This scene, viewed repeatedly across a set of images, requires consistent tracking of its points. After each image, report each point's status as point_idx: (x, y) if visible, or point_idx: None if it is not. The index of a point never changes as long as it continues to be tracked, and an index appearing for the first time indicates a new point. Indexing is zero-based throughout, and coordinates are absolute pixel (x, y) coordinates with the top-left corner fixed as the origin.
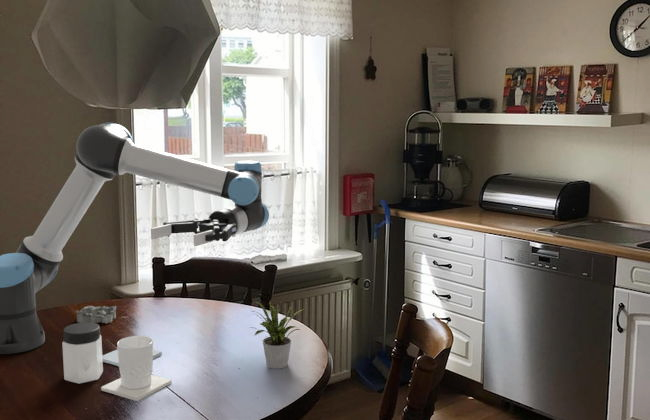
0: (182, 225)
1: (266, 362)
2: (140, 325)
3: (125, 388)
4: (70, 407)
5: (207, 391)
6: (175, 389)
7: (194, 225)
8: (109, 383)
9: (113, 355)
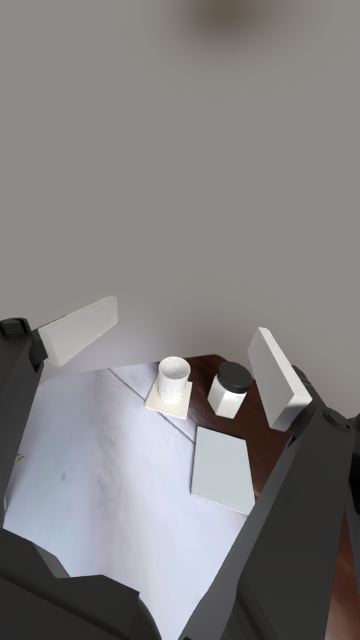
0: (283, 473)
1: (5, 506)
2: None
3: None
4: (192, 363)
5: (106, 400)
6: (136, 397)
7: (222, 602)
8: (190, 388)
9: (236, 452)
